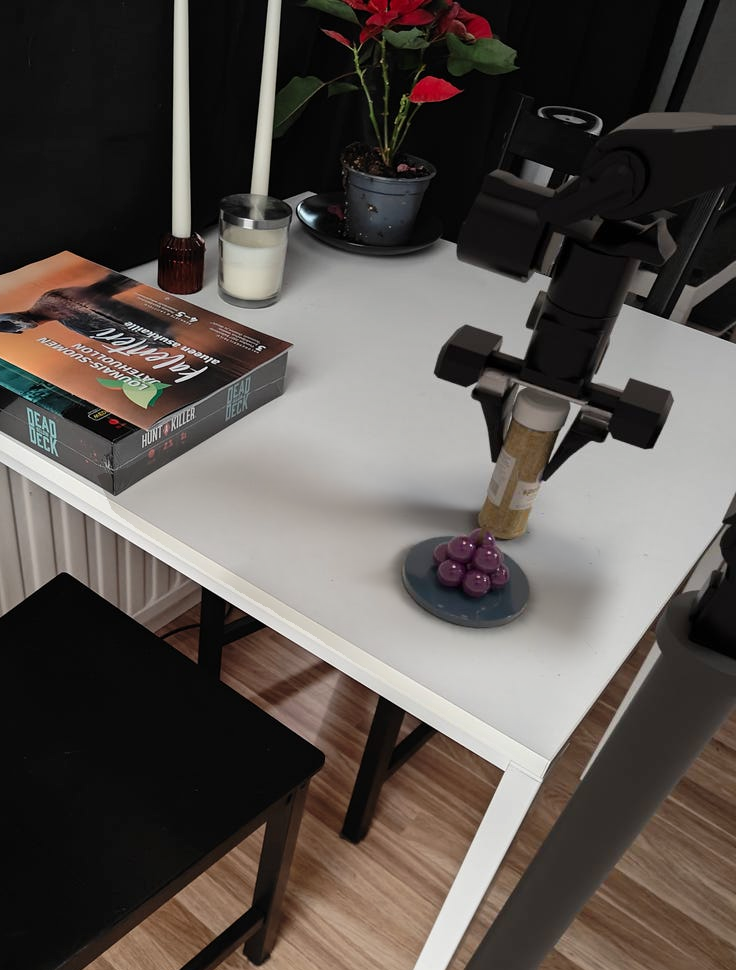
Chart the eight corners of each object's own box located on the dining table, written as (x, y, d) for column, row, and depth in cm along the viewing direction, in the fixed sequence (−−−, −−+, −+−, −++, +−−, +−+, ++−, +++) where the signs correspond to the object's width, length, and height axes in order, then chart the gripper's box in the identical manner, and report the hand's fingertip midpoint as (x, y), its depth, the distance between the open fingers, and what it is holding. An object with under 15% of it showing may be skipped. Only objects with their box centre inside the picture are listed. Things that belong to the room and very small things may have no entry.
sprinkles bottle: (522, 546, 83) (570, 416, 73) (473, 533, 83) (515, 404, 74) (526, 518, 86) (573, 391, 76) (479, 506, 86) (520, 379, 77)
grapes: (541, 572, 80) (567, 513, 76) (506, 646, 73) (532, 586, 68) (427, 527, 83) (445, 467, 78) (383, 594, 76) (400, 532, 71)
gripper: (719, 301, 72) (640, 464, 83) (498, 236, 77) (451, 398, 88) (699, 355, 65) (615, 525, 76) (456, 279, 70) (411, 449, 81)
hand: (519, 469), depth 80 cm, fingers closed on sprinkles bottle, 4 cm apart
